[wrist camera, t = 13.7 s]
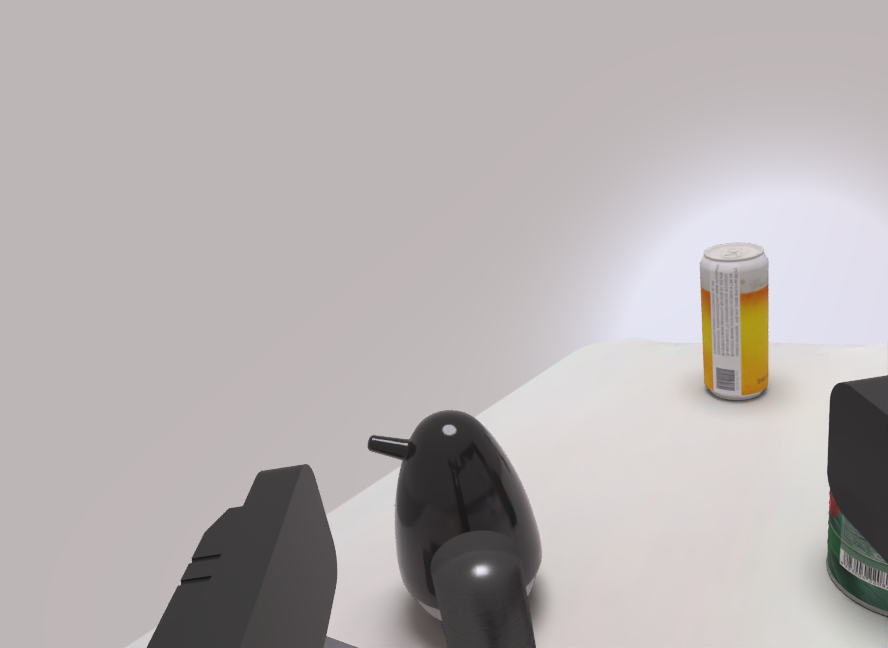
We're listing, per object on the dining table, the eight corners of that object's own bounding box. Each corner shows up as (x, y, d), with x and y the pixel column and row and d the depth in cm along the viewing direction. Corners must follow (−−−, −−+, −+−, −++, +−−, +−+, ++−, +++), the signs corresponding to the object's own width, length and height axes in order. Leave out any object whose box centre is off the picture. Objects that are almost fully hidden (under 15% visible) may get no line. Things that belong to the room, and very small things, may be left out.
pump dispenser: (412, 557, 54) (372, 391, 49) (540, 541, 53) (514, 370, 48) (401, 662, 45) (351, 471, 39) (557, 645, 44) (527, 447, 38)
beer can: (772, 378, 70) (772, 240, 65) (763, 406, 66) (762, 260, 60) (711, 372, 74) (707, 241, 68) (698, 399, 69) (692, 260, 64)
